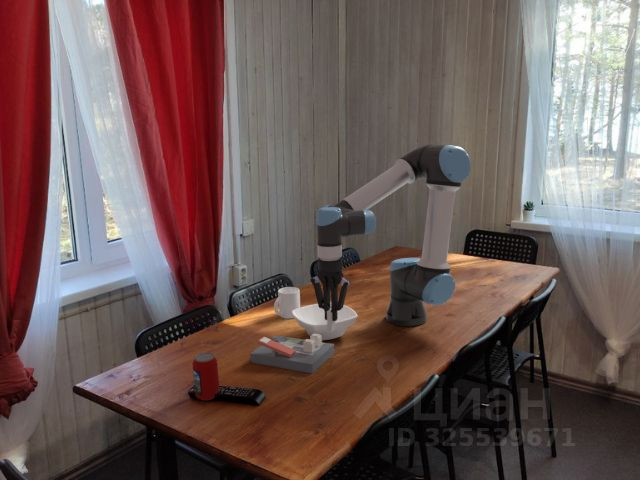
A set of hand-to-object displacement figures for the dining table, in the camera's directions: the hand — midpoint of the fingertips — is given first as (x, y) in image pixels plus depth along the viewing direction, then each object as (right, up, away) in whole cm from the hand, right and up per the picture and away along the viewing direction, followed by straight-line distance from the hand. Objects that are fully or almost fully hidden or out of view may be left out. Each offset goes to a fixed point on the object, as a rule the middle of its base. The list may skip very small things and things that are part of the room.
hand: (331, 329), depth 180 cm
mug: (-17, -1, +40) cm, 43 cm away
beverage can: (-35, -16, -20) cm, 43 cm away
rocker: (-17, -5, -1) cm, 18 cm away
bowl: (-2, -5, +20) cm, 21 cm away
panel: (-12, -9, +3) cm, 16 cm away
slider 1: (-7, -7, 0) cm, 10 cm away
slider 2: (-5, -5, +4) cm, 8 cm away
